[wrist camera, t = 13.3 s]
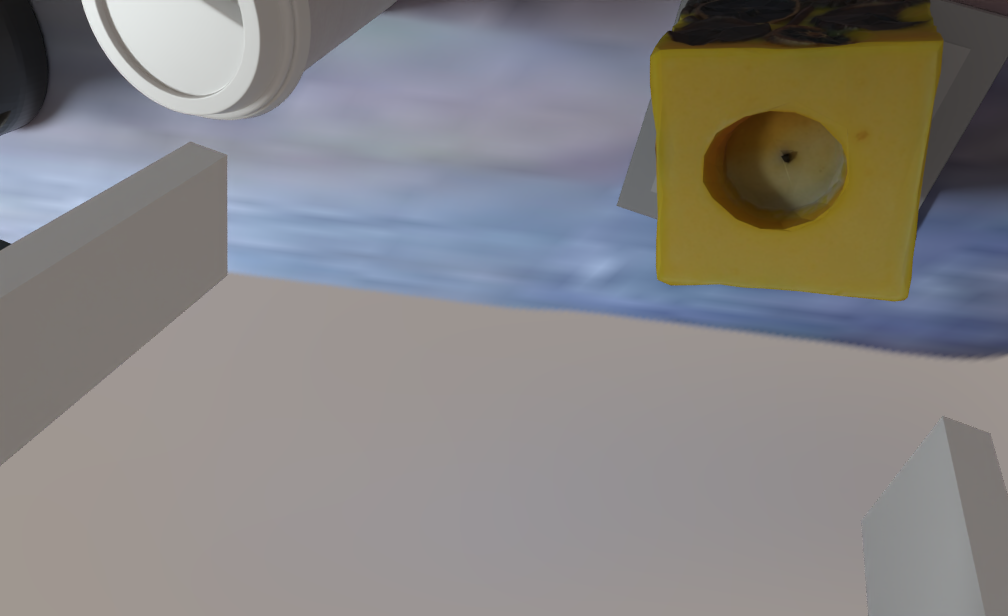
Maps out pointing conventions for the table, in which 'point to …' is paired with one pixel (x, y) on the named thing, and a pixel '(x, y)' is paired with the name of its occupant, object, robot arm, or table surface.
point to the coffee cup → (222, 48)
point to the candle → (793, 143)
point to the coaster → (962, 86)
